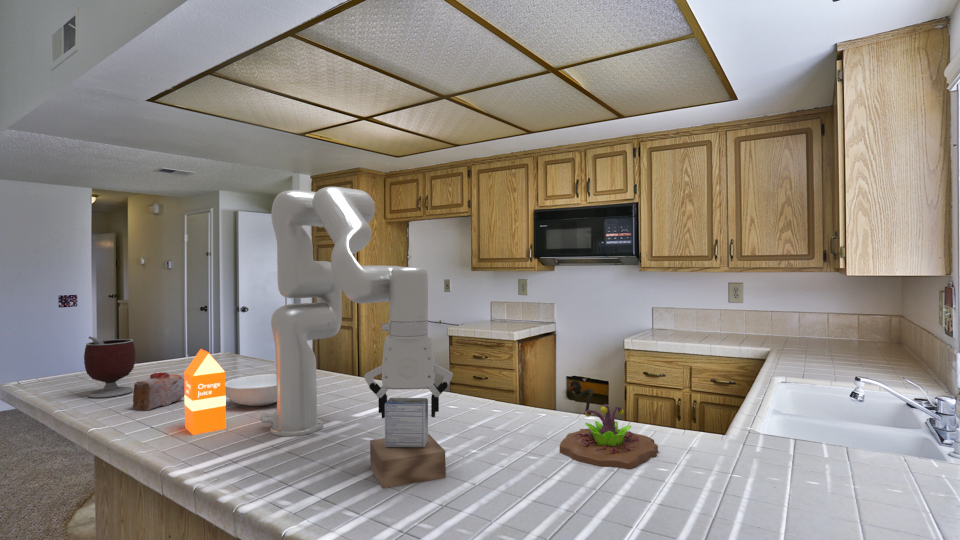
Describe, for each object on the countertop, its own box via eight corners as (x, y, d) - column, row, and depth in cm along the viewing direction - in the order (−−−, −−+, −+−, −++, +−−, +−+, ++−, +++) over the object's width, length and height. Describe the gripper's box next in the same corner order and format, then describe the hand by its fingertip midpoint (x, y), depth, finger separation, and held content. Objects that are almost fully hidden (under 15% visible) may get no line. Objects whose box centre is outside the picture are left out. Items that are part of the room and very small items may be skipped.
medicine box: (428, 440, 102) (428, 397, 102) (425, 448, 97) (424, 403, 97) (389, 440, 102) (389, 397, 102) (384, 447, 98) (384, 402, 98)
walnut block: (382, 494, 91) (382, 460, 91) (370, 469, 102) (370, 440, 102) (445, 482, 96) (445, 451, 96) (427, 460, 107) (427, 432, 107)
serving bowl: (312, 399, 158) (312, 377, 158) (251, 416, 141) (250, 391, 141) (270, 391, 169) (270, 370, 169) (209, 406, 152) (208, 383, 152)
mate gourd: (106, 388, 177) (105, 330, 177) (145, 387, 176) (144, 330, 176) (69, 399, 161) (68, 336, 161) (111, 399, 161) (110, 336, 161)
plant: (545, 459, 107) (544, 406, 107) (581, 433, 123) (580, 387, 123) (641, 480, 96) (640, 421, 96) (666, 448, 112) (665, 398, 112)
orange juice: (192, 435, 124) (191, 354, 124) (184, 427, 130) (183, 350, 130) (226, 428, 129) (225, 350, 129) (217, 421, 136) (216, 346, 136)
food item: (167, 398, 162) (167, 367, 162) (189, 399, 160) (188, 368, 160) (129, 410, 148) (129, 376, 148) (152, 411, 147) (152, 377, 147)
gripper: (361, 332, 96) (361, 422, 96) (452, 331, 97) (452, 421, 97) (367, 327, 103) (367, 411, 103) (452, 326, 104) (452, 409, 104)
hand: (409, 415), depth 100 cm, fingers open, 9 cm apart
